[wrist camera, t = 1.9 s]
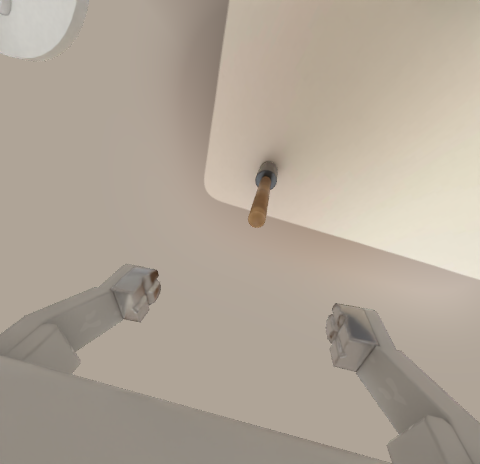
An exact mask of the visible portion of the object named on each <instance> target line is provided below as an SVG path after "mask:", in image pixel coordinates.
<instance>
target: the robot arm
mask: <svg viewBox="0 0 480 464" xmlns="http://www.w3.org/2000/svg"><path fill="white" fill-rule="evenodd" d="M10 11H11V0H0V14H2V15H9V14H10ZM158 276H159V275H158V271H157V270H155V269H150V268H145V267H141V266H135V265H131V264H125V265H123V266H122V267H121V268H120V269H118V270H117V271H116V272H115V273H114V274H113V275H112V276H111V277H109V278H108V279H107V280H106V281H105V282H104V283H103V284H102V285H101V286H99V287H98V288H97V287H94V288H92V289H89V290H87V291H84V292H82V293H79V294H77V295H74V296H72V297H70V298H68V299H65V300H62V301H60V302H57V303H55V304H52V305H50V306H48V307H45V308H43V309H40V310H38V311H36V312H33V313H31V314H28V315H26V316H24V317H23V318H21V319H20V320H19V321H18V322H16V323H15V324H13V325H12V326H11V327H10V328H8V329H7V330H5V331H4V332H3V333H1V334H0V464H480V423H479V422H478V421H477V420H476V419H475V418H474V417H473V416H472V415H470V414H469V413H468V412H467V411H466V410H465V409H464V408H463V407H462V406H460V404H458V403H457V402H456V401H455V400H454V399H453V398H452V397H451V396H450V395H449V394H448V393H446V392H445V391H444V390H443V389H442V388H441V387H440V386H439V385H438V384H436V383H435V382H434V381H433V380H432V379H431V378H430V377H429V376H428V375H427V374H426V373H425V372H423V371H422V370H421V369H420V368H419V367H418V366H417V365H416V364H415V363H414V362H413V361H411V360H410V359H409V358H408V357H407V356H406V355H405V354H404V353H403V352H402V351H399V350H396V348H395V346H394V344H393V342H392V340H391V338H390V336H389V334H388V332H387V330H386V328H385V326H384V324H383V323H382V321H381V319H380V317H379V315H378V313H377V312H376V311H375V310H371V309H365V308H360V307H354V306H349V305H343V304H337V303H336V304H335V305H334V306H333V308H332V311H333V314H331V315H330V316H329V317H328V319H327V324H326V334H327V338H328V340H329V341H330V342H331V343H332V346H331V348H330V353H331V357H332V362H333V366H335V367H339V368H342V369H347V370H350V371H354V372H356V374H357V375H358V377H359V378H360V380H361V381H362V382H363V384H364V385H365V387H366V388H367V390H368V391H369V392H370V394H371V395H372V397H373V398H374V400H375V401H376V402H377V404H378V405H379V407H380V408H381V409H382V411H383V412H384V414H385V415H386V416H387V418H388V419H389V421H390V422H391V424H392V425H393V427H394V428H395V429H396V431H397V432H398V434H399V435H398V436H397V437H395V438H394V439H392V440H391V441H390V442H389V443H388V445H387V448H388V451H389V454H390V458H391V461H392V463H390V462H386V461H382V460H379V459H375V458H371V457H368V456H364V455H360V454H357V453H353V452H350V451H346V450H343V449H339V448H335V447H332V446H328V445H324V444H321V443H317V442H314V441H310V440H307V439H303V438H299V437H296V436H292V435H289V434H285V433H281V432H277V431H274V430H271V429H267V428H263V427H260V426H255V425H252V424H249V423H245V422H242V421H238V420H234V419H231V418H227V417H224V416H220V415H216V414H213V413H209V412H206V411H202V410H198V409H195V408H191V407H188V406H184V405H180V404H177V403H173V402H169V401H166V400H162V399H159V398H155V397H152V396H148V395H144V394H140V393H137V392H133V391H130V390H126V389H123V388H119V387H115V386H112V385H108V384H104V383H101V382H97V381H94V380H90V379H87V378H83V377H79V376H76V375H72V373H73V372H74V371H75V370H76V368H77V367H78V366H79V365H80V359H79V357H78V356H77V354H76V353H75V352H76V351H77V350H79V349H80V348H82V347H83V346H85V345H86V344H88V343H89V342H91V341H92V340H94V339H95V338H97V337H98V336H100V335H101V334H103V333H104V332H106V331H107V330H109V329H110V328H112V327H113V326H115V325H116V324H118V323H119V322H121V321H122V320H123V319H126V320H131V321H136V322H141V321H142V319H143V318H144V317H145V315H146V314H147V313H148V311H149V305H151V304H152V303H154V302H155V301H156V300H157V298H158V296H159V294H160V290H161V285H160V282H159V281H158V280H157V278H158Z"/></svg>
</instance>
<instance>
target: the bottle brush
mask: <svg viewBox="0 0 480 464" xmlns="http://www.w3.org/2000/svg"><path fill="white" fill-rule="evenodd" d="M255 181H256V185H257V187H258V189H257V193H256V196H255V199H254V202H253V205H252V208H251V211H250V214H249V217H248V222H249V224H250V225H251V226H252V227H255V228H259V227H261V226H263V224H264V223H265V220H266V213H267V206H268V200H269V193H270V190H271V189H273V188H274V187H275V185H276V182H277V167H276V165H275V164H274V163H273V162H265V163H263V164H262V165H261V167H260V169H259V171H258V174H257V176H256V180H255Z"/></svg>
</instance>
